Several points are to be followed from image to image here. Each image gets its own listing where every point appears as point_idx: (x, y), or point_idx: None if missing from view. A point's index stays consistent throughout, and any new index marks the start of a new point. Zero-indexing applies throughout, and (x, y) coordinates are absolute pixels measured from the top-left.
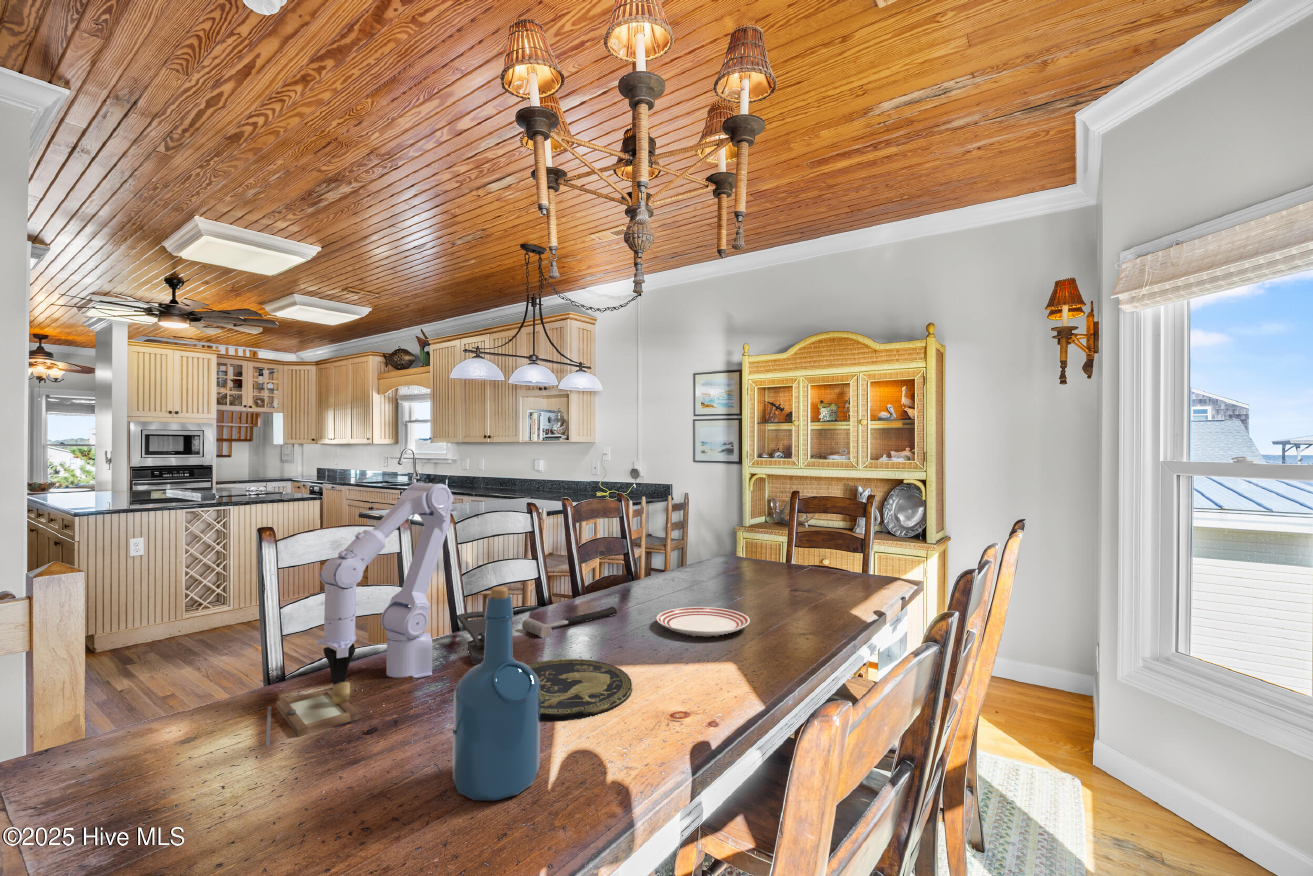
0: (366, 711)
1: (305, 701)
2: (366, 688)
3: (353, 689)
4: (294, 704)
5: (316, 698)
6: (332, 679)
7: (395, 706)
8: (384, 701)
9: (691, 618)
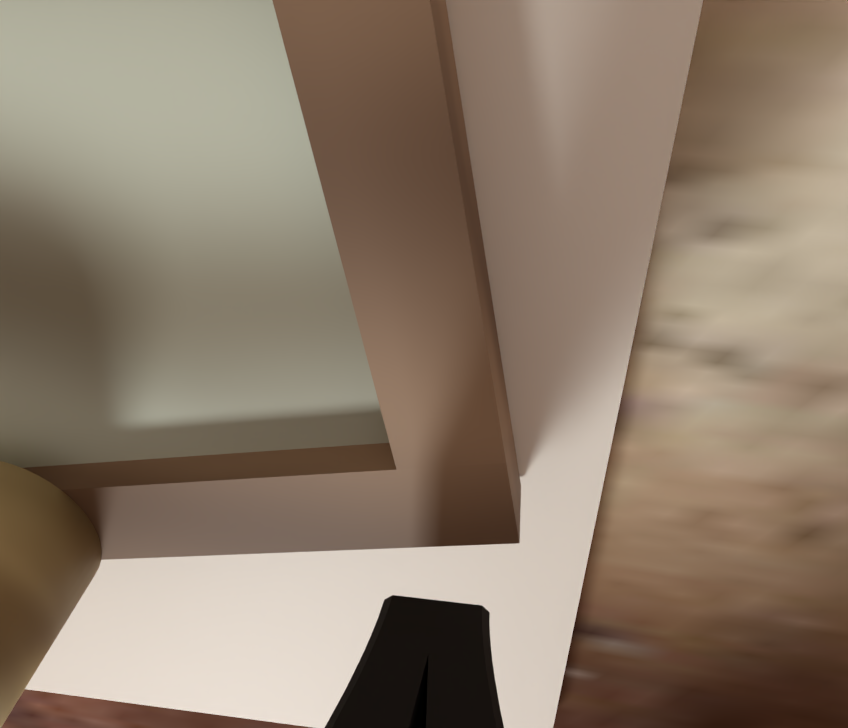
0: None
1: (273, 180)
2: (567, 694)
3: (628, 624)
4: (214, 5)
5: (318, 323)
6: (363, 656)
7: (43, 720)
8: None
9: None
